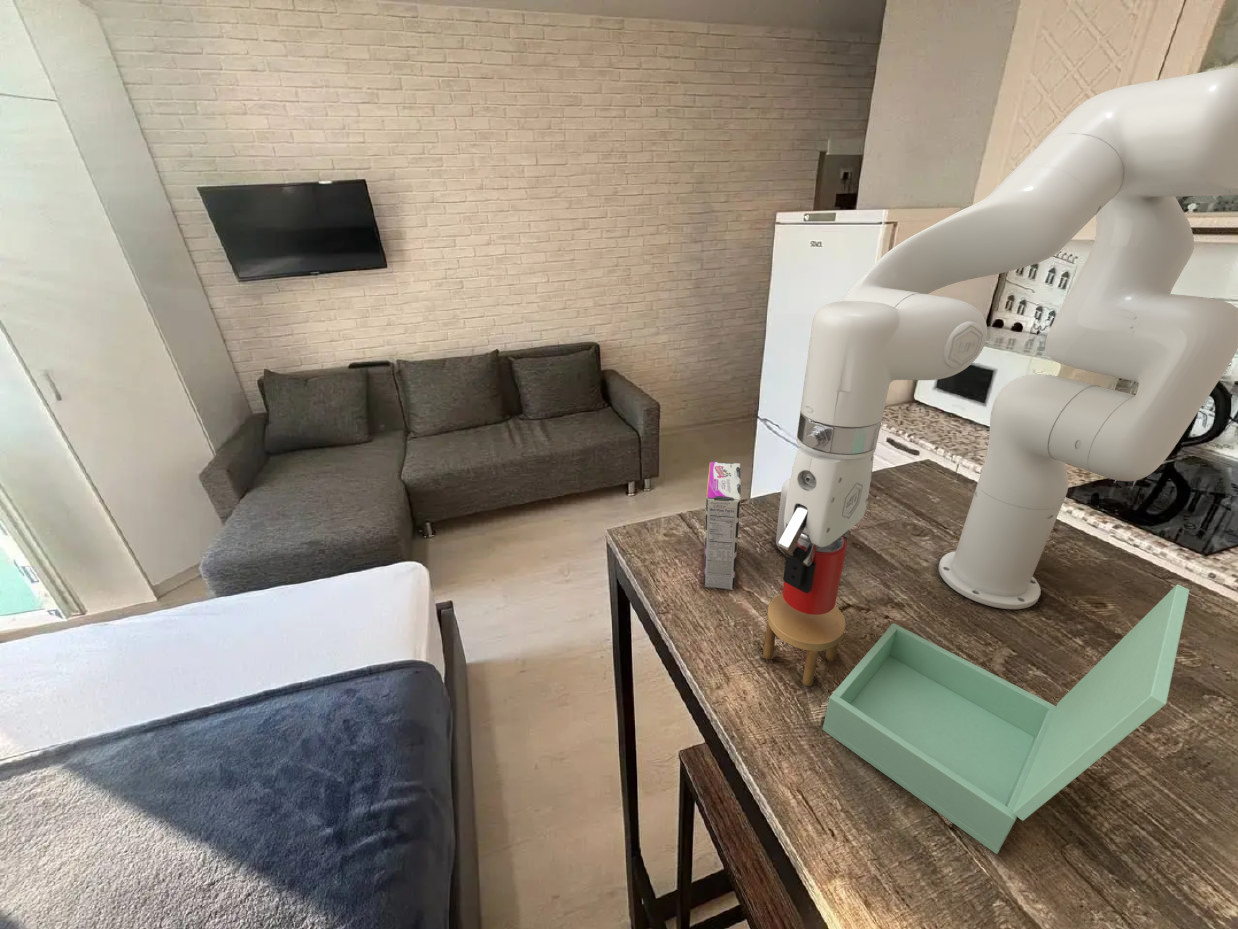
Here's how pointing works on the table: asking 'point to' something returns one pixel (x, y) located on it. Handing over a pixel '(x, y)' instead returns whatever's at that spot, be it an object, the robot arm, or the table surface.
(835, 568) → the soda can
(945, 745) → the box
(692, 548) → the table surface
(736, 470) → the candy bar box
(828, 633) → the stool
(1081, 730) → the lid
